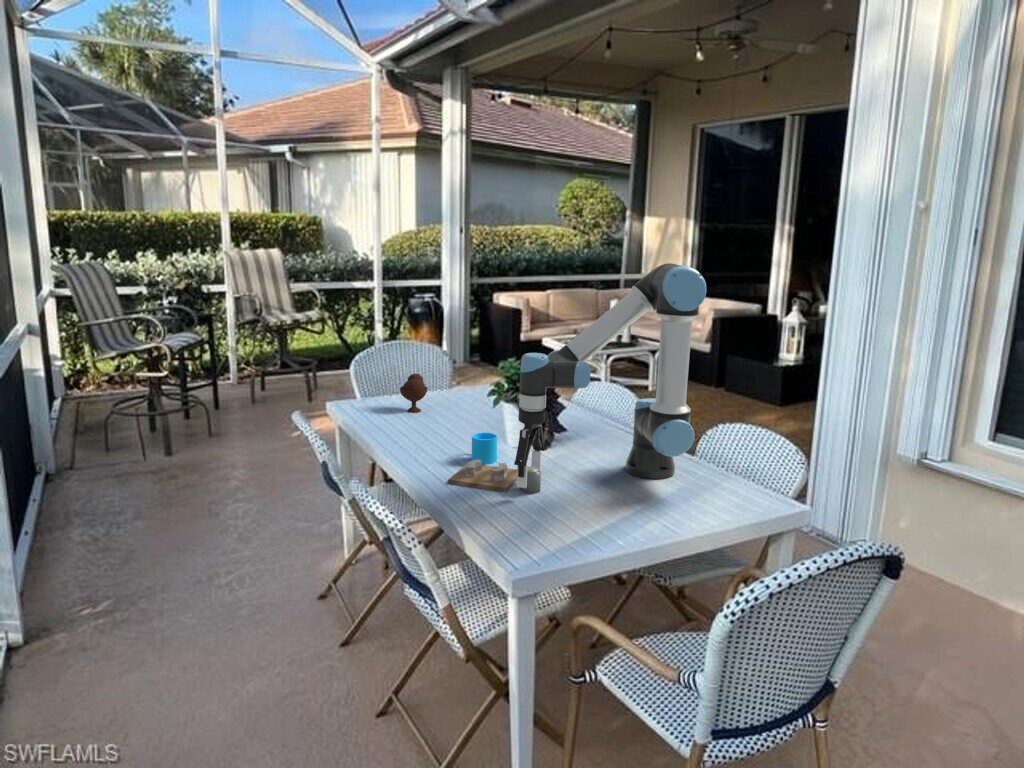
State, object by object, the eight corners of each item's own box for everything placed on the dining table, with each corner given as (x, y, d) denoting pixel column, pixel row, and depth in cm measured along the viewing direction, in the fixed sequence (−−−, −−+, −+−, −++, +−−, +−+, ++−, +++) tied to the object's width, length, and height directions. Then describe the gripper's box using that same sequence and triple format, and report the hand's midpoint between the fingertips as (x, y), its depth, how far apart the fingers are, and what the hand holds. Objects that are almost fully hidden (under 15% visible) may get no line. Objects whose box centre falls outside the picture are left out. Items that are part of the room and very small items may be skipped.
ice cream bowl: (397, 408, 300) (397, 372, 297) (425, 407, 304) (425, 370, 300) (402, 415, 290) (401, 377, 287) (430, 413, 294) (430, 376, 290)
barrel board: (523, 474, 229) (523, 461, 228) (505, 491, 214) (506, 477, 213) (468, 466, 234) (468, 453, 233) (448, 483, 219) (448, 469, 218)
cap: (542, 488, 217) (543, 467, 216) (536, 495, 212) (537, 473, 210) (523, 485, 219) (523, 464, 218) (516, 492, 214) (517, 471, 212)
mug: (500, 462, 239) (501, 438, 237) (477, 465, 235) (477, 441, 233) (486, 451, 249) (486, 428, 247) (463, 454, 246) (463, 430, 244)
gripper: (532, 397, 223) (529, 464, 227) (504, 417, 200) (502, 491, 204) (556, 400, 220) (553, 468, 225) (531, 420, 197) (528, 496, 202)
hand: (528, 479), depth 215 cm, fingers open, 13 cm apart
